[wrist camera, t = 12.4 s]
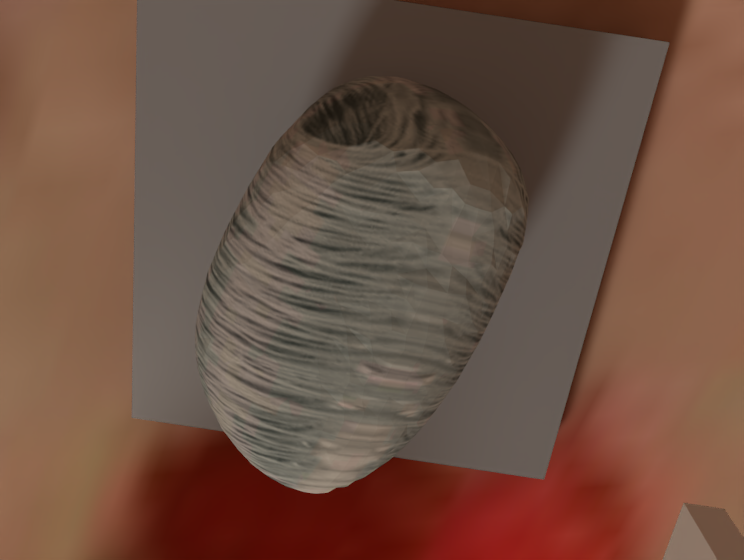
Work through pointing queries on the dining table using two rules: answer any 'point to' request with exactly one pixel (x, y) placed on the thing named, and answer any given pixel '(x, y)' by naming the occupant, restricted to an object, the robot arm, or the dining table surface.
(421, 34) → the plate
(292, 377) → the spool
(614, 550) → the dining table surface
